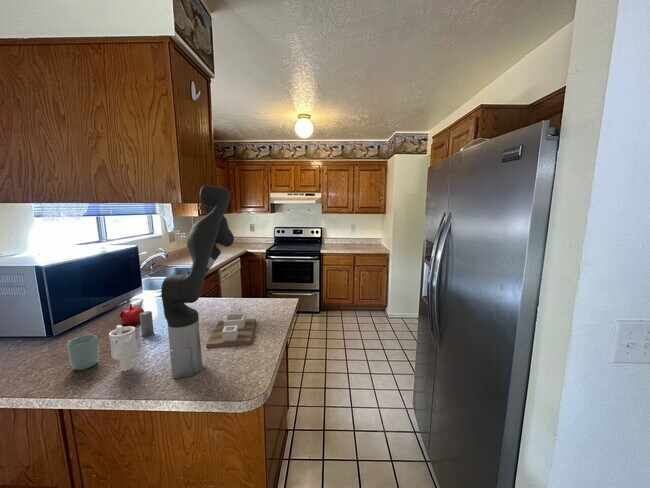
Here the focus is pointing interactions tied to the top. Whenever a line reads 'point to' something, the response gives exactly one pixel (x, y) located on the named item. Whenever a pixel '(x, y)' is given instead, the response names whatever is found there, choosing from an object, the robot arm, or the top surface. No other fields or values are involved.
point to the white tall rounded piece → (123, 346)
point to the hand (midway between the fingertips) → (181, 293)
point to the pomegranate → (130, 315)
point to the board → (242, 339)
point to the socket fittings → (233, 326)
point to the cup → (83, 351)
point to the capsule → (146, 324)
